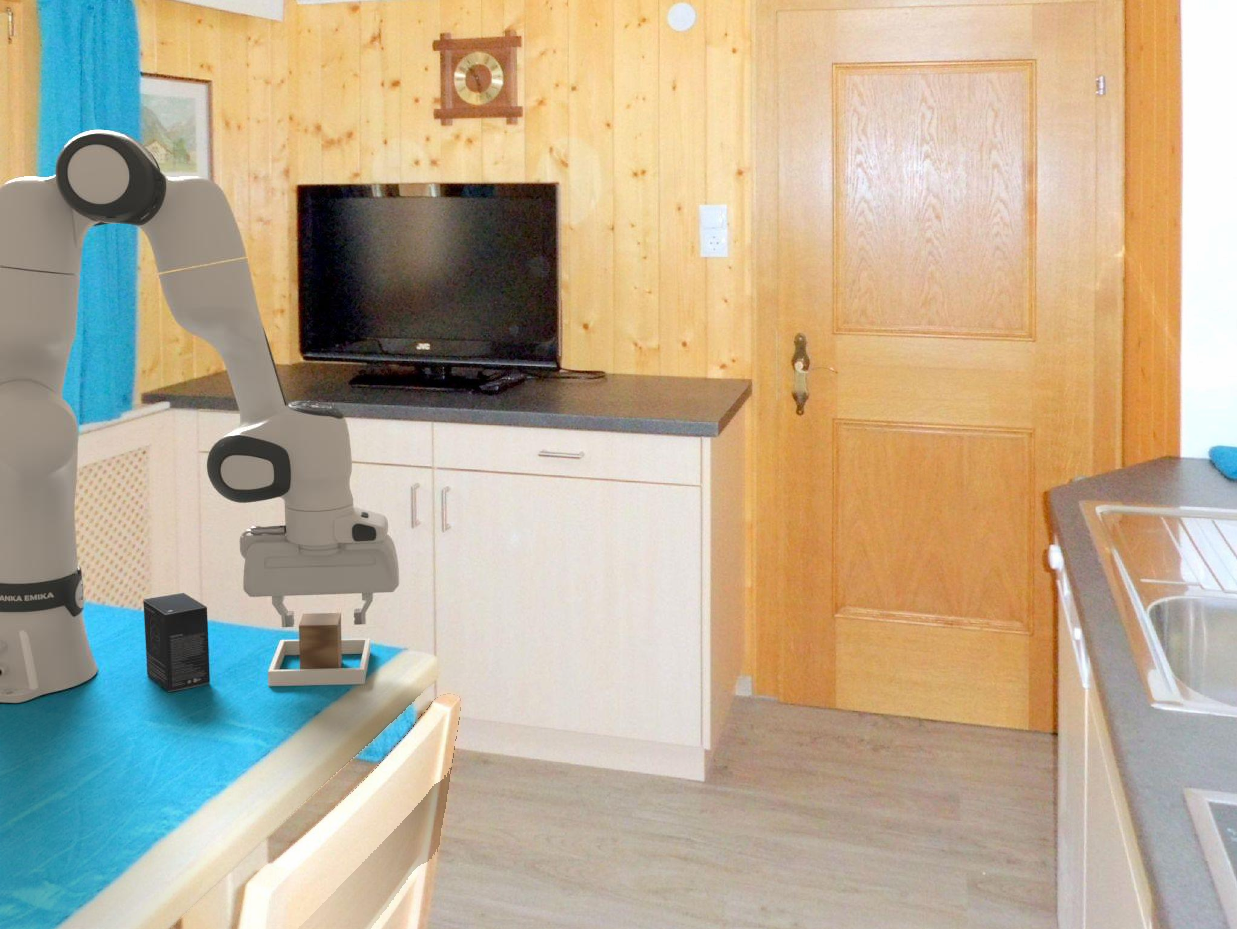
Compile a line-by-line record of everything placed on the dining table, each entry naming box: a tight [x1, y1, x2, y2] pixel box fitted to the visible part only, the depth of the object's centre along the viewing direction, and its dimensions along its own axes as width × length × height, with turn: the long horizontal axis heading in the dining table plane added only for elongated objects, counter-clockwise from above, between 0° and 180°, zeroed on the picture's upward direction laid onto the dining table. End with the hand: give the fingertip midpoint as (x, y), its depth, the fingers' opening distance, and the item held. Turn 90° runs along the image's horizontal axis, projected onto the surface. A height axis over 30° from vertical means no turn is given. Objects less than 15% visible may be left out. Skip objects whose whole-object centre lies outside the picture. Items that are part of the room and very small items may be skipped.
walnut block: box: [298, 612, 343, 669], centre depth 179 cm, size 5×5×7 cm
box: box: [143, 592, 211, 693], centre depth 173 cm, size 8×6×11 cm
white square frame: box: [267, 637, 371, 687], centre depth 179 cm, size 12×12×2 cm
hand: (324, 624), depth 179 cm, fingers open, 8 cm apart
